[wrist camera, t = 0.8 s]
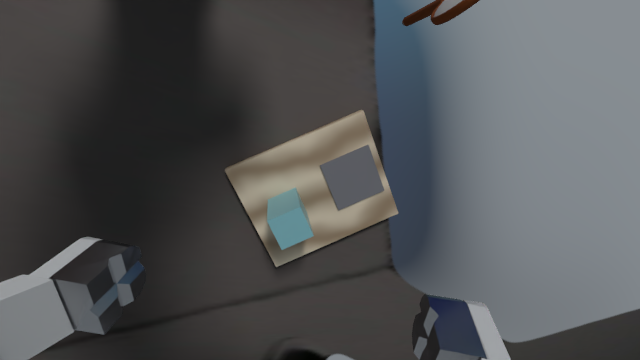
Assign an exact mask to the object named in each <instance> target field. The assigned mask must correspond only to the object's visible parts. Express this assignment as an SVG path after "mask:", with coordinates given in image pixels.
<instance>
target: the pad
mask: <svg viewBox="0 0 640 360" xmlns="http://www.w3.org/2000/svg"><path fill="white" fill-rule="evenodd" d="M320 167H321V170H322V172H323V174H324V177H325V179H326V182H327V184H328V186H329V189H330V191H331V194H332V196H333V198H334V201H335V203H336V206H337V208H338V210H341V209H343V208H345V207H348V206H350V205H352V204H355V203H357V202H359V201H361V200H364V199H366V198H368V197H371V196H373V195H375V194H377V193H380V192H382V191H384V187H383V185H382V182H381V179H380V176H379V173H378V170H377V167H376V165H375V162H374V159H373V156H372V153H371V150H370V147H369V145H366V146H363V147H361V148H359V149H356V150H354V151H352V152H349V153H347V154H345V155H342V156H340V157H338V158H335V159H333V160H331V161H329V162H326V163H324V164H322V165H320Z"/></svg>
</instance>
